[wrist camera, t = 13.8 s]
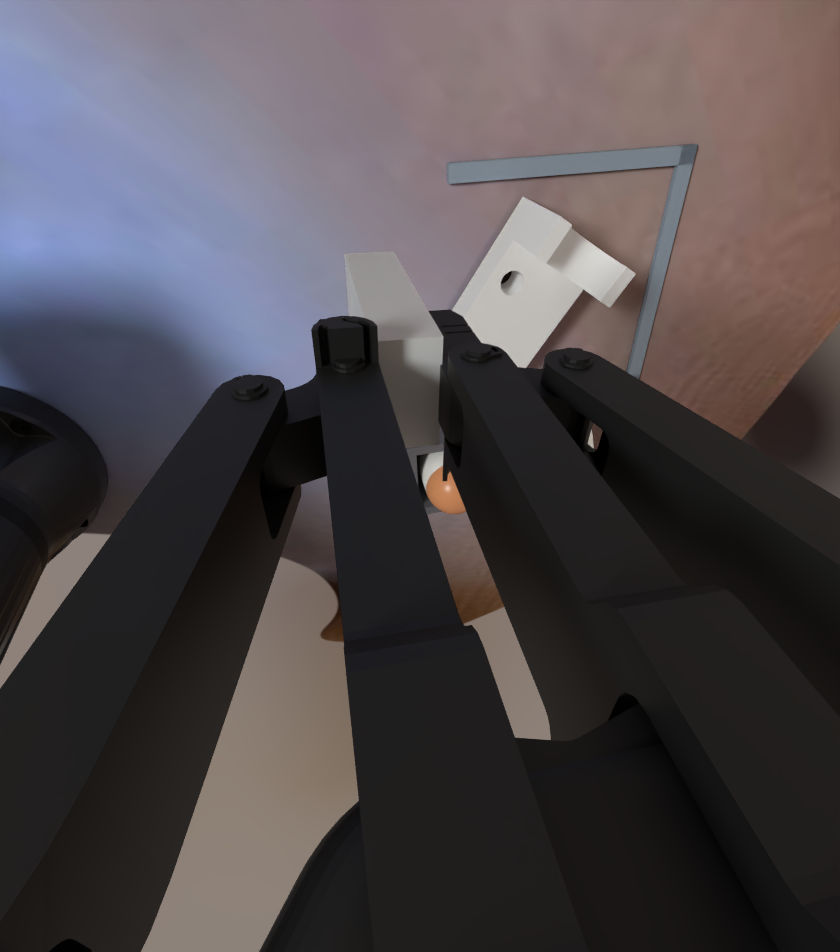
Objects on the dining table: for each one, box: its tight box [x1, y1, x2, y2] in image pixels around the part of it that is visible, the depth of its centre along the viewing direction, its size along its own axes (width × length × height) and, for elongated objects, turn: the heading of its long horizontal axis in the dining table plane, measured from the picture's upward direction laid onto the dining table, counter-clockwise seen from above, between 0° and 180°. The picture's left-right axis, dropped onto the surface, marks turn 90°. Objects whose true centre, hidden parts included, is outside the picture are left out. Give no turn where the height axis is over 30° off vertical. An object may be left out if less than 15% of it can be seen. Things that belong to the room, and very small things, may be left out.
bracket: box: [452, 197, 636, 368], centre depth 39 cm, size 13×7×8 cm, turn 148°
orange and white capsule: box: [416, 451, 466, 514], centre depth 45 cm, size 5×5×8 cm
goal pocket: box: [447, 144, 698, 379], centre depth 42 cm, size 18×19×1 cm
